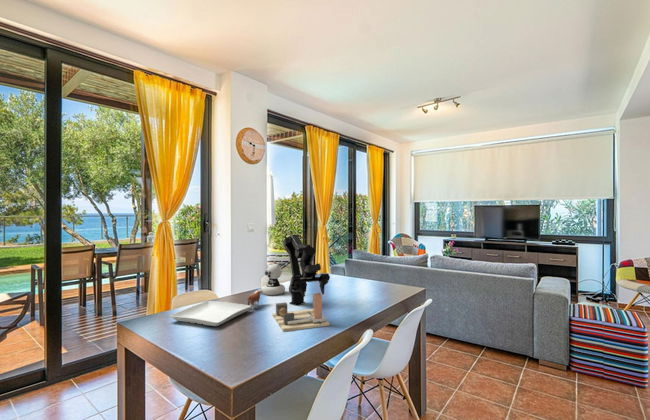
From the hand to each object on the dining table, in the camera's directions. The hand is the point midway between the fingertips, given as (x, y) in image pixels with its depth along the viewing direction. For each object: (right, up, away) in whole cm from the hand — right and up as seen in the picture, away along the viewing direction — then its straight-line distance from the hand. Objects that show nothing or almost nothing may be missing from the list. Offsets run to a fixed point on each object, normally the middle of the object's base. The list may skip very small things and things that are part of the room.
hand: (314, 295), depth 154 cm
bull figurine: (-32, -12, +23) cm, 41 cm away
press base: (-7, -11, 0) cm, 13 cm away
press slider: (-4, -10, -6) cm, 13 cm away
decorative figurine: (-27, -12, +51) cm, 59 cm away
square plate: (-49, -12, +6) cm, 51 cm away
